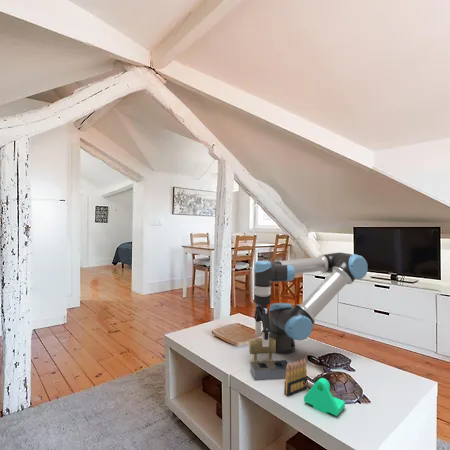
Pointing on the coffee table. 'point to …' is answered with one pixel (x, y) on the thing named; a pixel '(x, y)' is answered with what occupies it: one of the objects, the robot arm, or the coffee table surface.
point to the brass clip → (262, 348)
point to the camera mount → (323, 398)
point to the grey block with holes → (269, 370)
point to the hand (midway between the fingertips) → (261, 340)
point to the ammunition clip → (295, 378)
